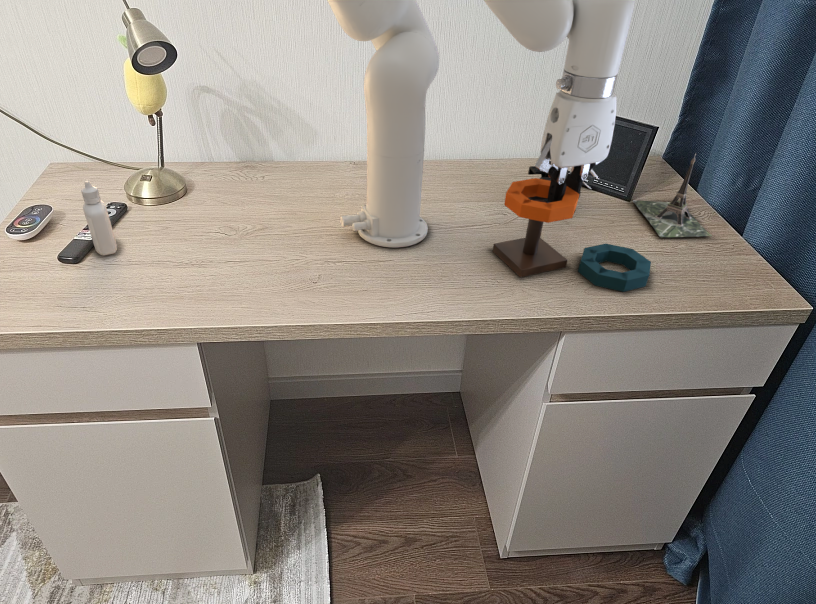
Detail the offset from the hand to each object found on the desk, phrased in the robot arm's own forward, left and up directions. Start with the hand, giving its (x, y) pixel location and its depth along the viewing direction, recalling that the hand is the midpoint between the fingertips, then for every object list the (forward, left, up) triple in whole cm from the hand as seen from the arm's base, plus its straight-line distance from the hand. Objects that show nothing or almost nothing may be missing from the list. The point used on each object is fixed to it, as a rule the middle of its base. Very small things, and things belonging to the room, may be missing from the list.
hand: (562, 201), depth 100 cm
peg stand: (-4, 0, -10) cm, 11 cm away
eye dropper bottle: (-70, +28, -10) cm, 77 cm away
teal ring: (+7, -8, -10) cm, 15 cm away
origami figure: (+22, +23, -10) cm, 33 cm away
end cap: (+12, +17, -10) cm, 23 cm away
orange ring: (-4, 0, 0) cm, 4 cm away
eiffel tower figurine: (+30, +3, -10) cm, 31 cm away
